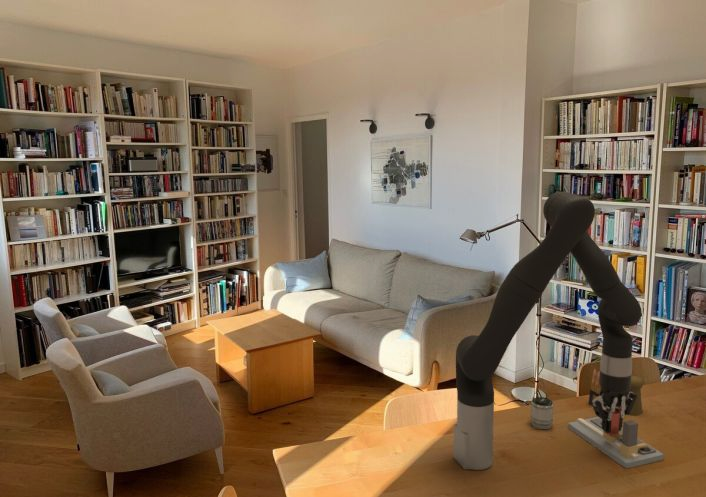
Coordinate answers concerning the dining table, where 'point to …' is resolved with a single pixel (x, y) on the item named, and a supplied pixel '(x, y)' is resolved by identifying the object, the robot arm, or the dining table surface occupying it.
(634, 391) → the olive pepper mill
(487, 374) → the robot arm
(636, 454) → the grey slider track base
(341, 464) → the dining table surface
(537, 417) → the camera lens
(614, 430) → the red slider with pointer
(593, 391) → the ammunition clip
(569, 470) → the dining table surface
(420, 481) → the dining table surface
